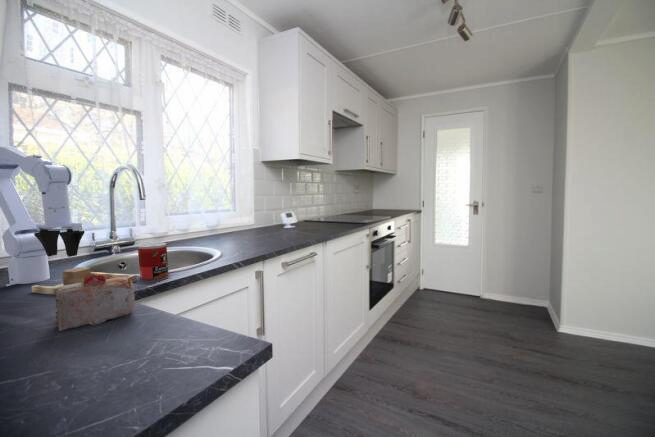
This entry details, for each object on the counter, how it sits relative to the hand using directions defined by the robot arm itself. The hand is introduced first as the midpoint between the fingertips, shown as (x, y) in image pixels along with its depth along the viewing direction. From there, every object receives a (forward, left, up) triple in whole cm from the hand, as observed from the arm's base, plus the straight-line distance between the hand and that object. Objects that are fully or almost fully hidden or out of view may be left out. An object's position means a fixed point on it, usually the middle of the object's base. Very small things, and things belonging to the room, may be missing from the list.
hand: (62, 255), depth 91 cm
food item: (+31, -15, -10) cm, 36 cm away
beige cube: (+5, 0, -8) cm, 10 cm away
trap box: (+8, 0, -9) cm, 12 cm away
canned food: (+19, +13, -10) cm, 25 cm away
